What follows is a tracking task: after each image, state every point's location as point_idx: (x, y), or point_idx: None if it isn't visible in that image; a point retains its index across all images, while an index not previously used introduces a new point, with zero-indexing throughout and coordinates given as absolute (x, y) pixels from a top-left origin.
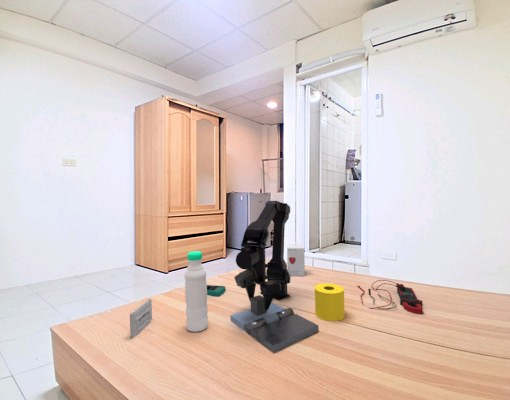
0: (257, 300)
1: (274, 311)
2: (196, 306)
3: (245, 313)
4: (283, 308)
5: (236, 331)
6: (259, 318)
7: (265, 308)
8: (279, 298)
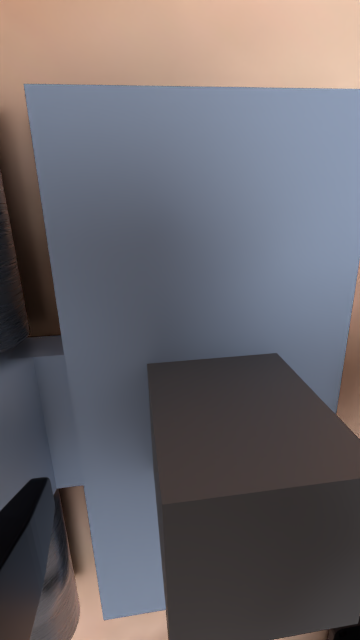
0: (188, 527)
1: (124, 533)
2: None
3: (288, 283)
4: (128, 609)
5: (74, 7)
6: (74, 350)
7: (17, 498)
8: (336, 637)
